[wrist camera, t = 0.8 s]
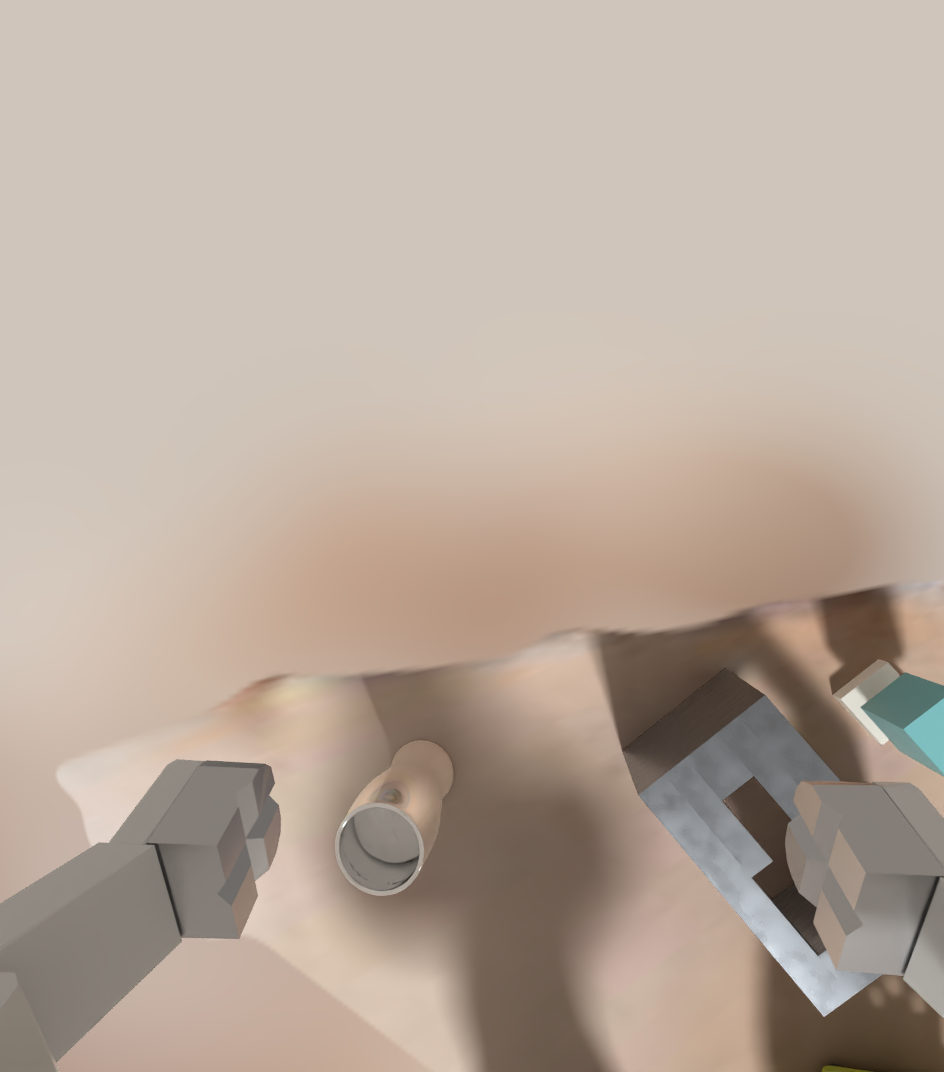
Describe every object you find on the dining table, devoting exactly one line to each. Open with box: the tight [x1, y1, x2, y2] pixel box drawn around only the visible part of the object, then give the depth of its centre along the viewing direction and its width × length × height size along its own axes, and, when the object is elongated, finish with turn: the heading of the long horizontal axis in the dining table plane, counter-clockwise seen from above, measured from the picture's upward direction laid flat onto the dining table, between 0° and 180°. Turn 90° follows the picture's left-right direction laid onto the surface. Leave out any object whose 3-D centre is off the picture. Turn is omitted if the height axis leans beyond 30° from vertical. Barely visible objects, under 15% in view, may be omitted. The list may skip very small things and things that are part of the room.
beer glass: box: [335, 740, 454, 896], centre depth 50 cm, size 7×7×15 cm
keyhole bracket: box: [622, 668, 883, 1017], centre depth 49 cm, size 20×12×10 cm, turn 41°
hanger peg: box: [833, 659, 944, 776], centre depth 48 cm, size 5×5×10 cm
